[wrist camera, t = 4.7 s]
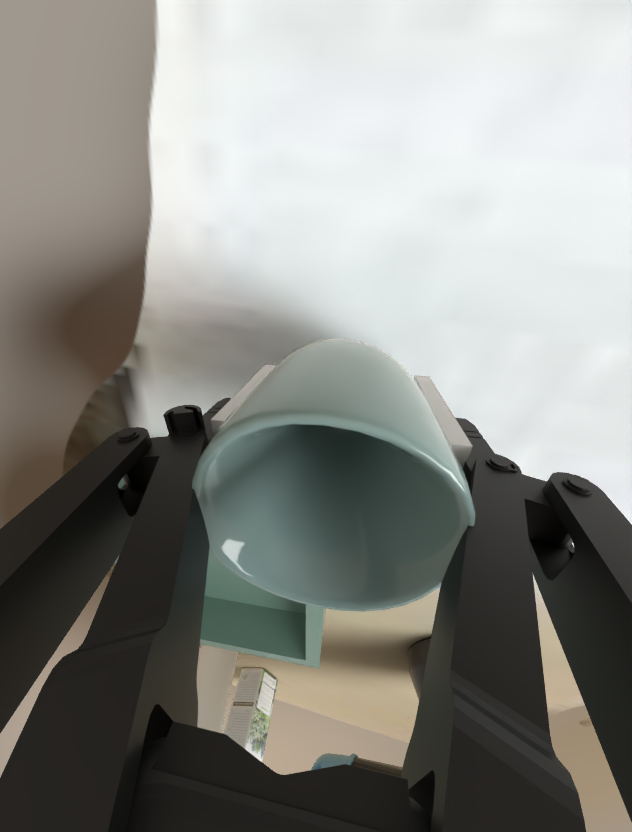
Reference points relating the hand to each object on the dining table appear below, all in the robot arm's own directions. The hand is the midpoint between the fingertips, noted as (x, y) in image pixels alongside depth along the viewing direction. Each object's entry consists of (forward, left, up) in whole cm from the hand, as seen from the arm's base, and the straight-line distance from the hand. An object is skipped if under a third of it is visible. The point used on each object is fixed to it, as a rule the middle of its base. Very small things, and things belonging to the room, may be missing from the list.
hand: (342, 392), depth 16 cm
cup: (0, 0, -1) cm, 1 cm away
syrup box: (-66, +12, -4) cm, 67 cm away
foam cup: (-54, +18, -4) cm, 57 cm away
